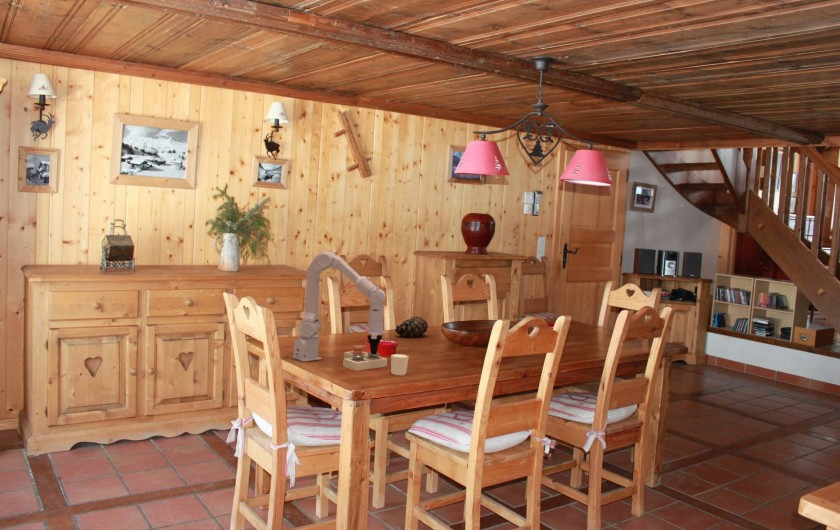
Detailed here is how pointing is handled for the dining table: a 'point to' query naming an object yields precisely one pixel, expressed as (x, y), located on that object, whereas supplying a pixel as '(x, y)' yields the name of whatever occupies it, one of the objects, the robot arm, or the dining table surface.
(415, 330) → the pine cone
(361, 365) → the socket block
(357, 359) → the metal plug
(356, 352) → the terracotta plug
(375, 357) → the metal plug
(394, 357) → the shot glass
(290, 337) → the dining table surface
